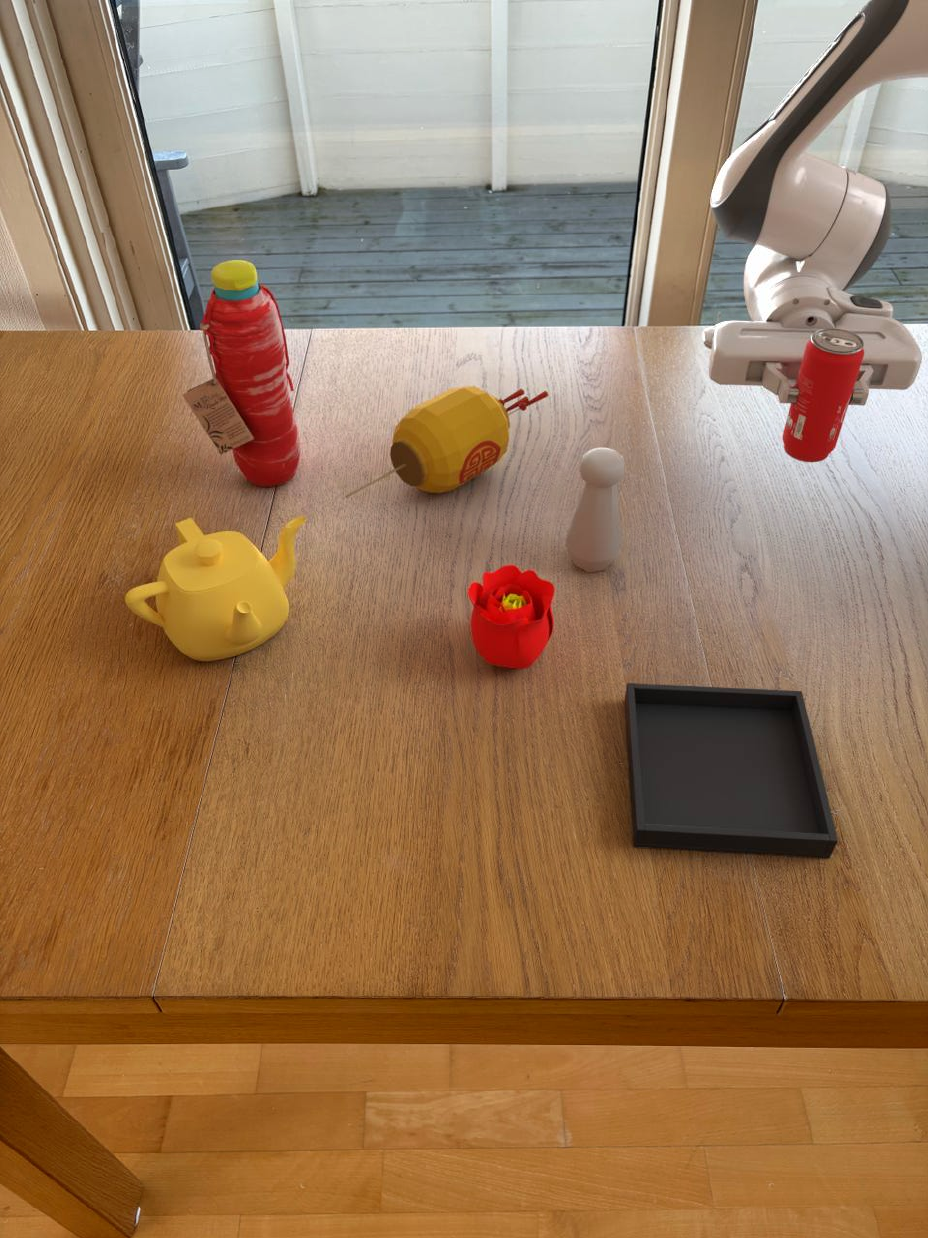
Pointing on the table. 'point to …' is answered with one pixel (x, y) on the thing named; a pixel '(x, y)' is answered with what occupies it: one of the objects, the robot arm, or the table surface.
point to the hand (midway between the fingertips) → (825, 398)
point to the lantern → (451, 438)
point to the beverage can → (822, 394)
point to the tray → (725, 771)
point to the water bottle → (247, 378)
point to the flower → (511, 616)
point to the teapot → (219, 592)
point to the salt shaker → (597, 511)
